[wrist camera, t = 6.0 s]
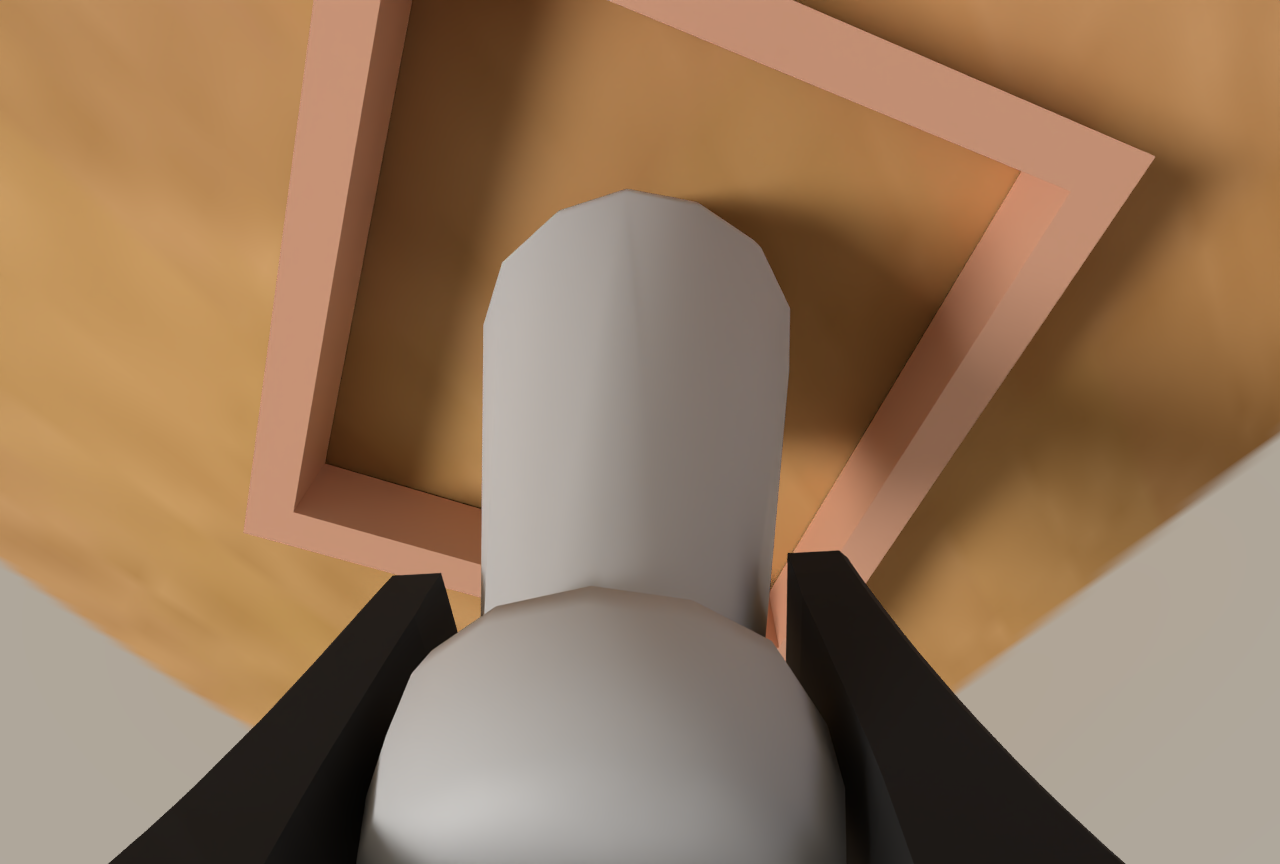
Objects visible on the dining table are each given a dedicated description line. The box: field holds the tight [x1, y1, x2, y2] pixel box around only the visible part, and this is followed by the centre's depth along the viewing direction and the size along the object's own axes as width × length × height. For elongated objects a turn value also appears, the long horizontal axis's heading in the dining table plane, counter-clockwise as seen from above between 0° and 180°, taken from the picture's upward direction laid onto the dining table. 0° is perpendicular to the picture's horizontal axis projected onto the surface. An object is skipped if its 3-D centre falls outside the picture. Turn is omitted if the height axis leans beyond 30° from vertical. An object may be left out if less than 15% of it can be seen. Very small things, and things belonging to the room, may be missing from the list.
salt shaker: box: [356, 189, 846, 864], centre depth 12 cm, size 6×6×13 cm
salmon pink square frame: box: [244, 0, 1155, 661], centre depth 17 cm, size 14×14×2 cm
